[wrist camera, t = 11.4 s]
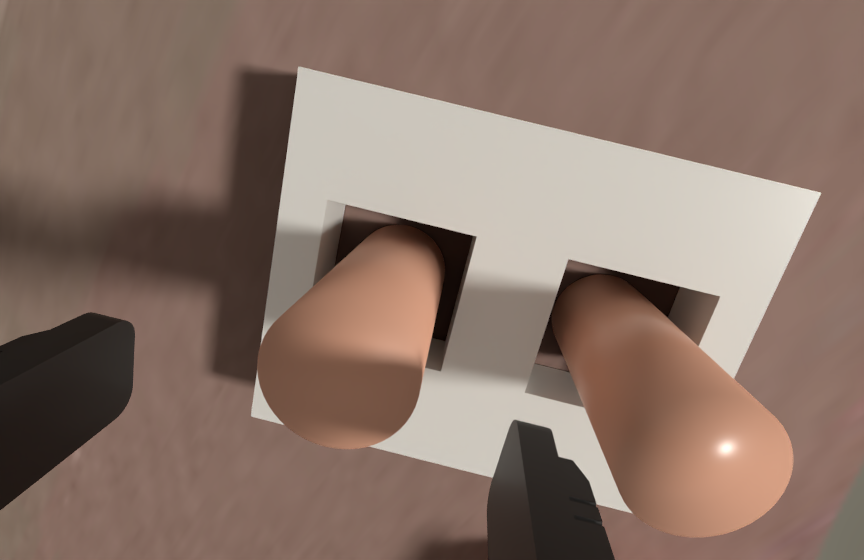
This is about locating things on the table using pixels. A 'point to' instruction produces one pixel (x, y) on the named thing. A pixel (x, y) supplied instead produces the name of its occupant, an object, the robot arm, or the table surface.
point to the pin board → (576, 306)
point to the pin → (356, 342)
